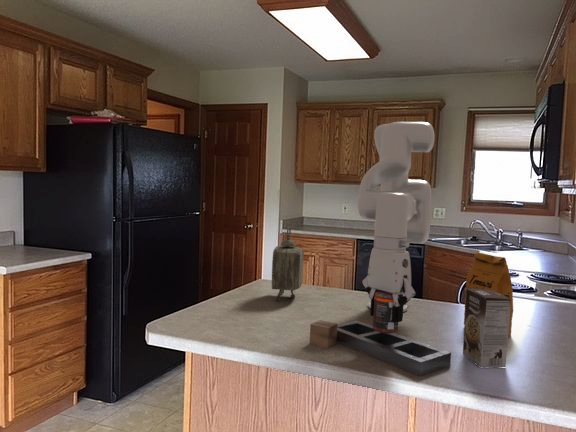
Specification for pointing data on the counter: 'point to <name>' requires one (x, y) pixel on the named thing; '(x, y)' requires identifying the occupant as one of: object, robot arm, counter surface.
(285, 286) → the tabletop clock
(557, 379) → the counter surface
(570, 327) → the counter surface
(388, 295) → the supplement bottle
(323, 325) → the walnut block
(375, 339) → the rail
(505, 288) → the coffee package
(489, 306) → the coffee box
